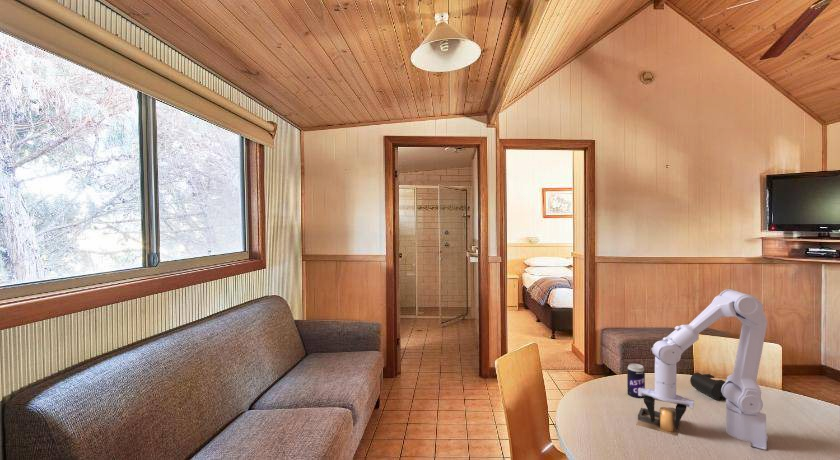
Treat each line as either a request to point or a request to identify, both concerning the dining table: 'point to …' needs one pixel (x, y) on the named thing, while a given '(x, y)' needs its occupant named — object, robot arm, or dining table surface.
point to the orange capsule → (666, 419)
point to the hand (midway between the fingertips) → (664, 424)
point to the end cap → (708, 385)
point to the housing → (646, 421)
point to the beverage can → (635, 379)
